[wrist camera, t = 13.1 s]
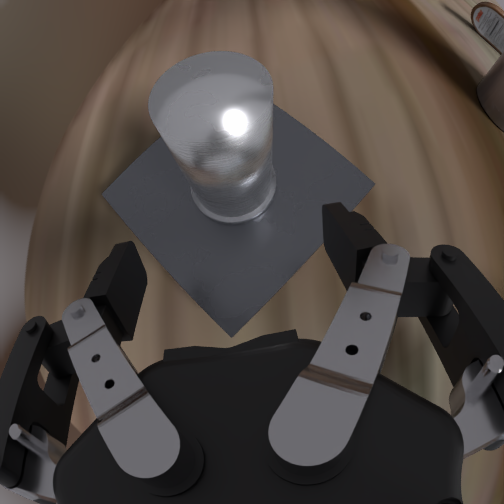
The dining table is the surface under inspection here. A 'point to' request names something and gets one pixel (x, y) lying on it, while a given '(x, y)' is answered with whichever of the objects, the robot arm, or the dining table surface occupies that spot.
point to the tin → (489, 24)
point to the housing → (219, 132)
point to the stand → (243, 235)
